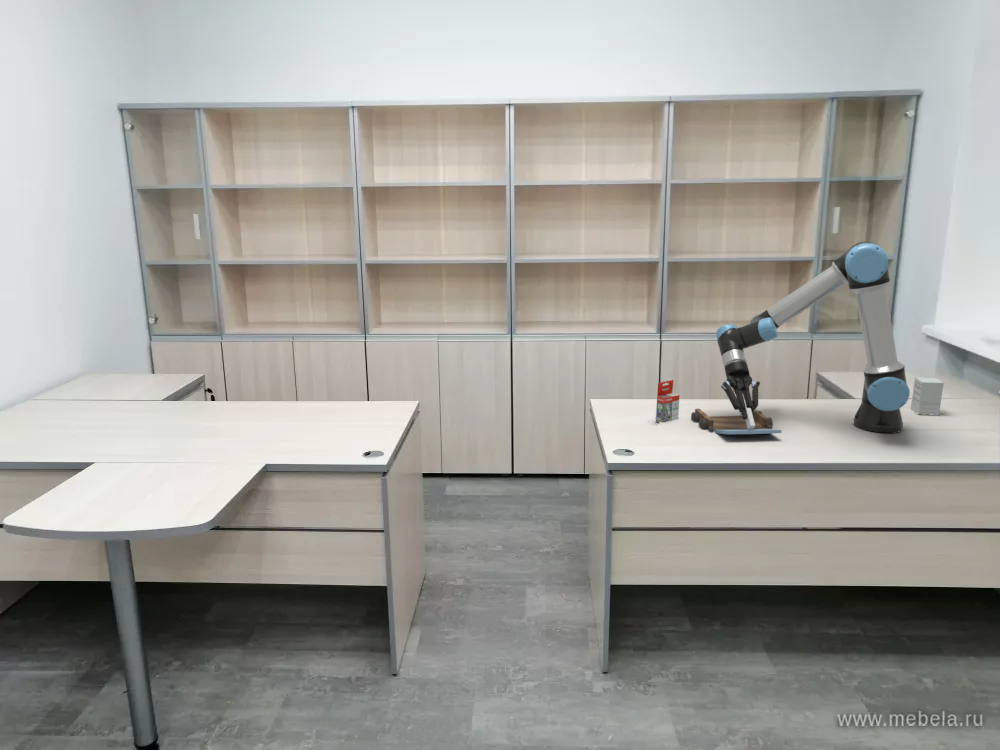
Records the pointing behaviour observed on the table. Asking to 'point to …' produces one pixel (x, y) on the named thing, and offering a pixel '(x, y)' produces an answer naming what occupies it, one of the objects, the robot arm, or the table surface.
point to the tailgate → (746, 431)
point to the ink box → (666, 403)
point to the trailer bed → (729, 421)
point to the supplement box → (927, 396)
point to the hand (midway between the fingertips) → (751, 427)
